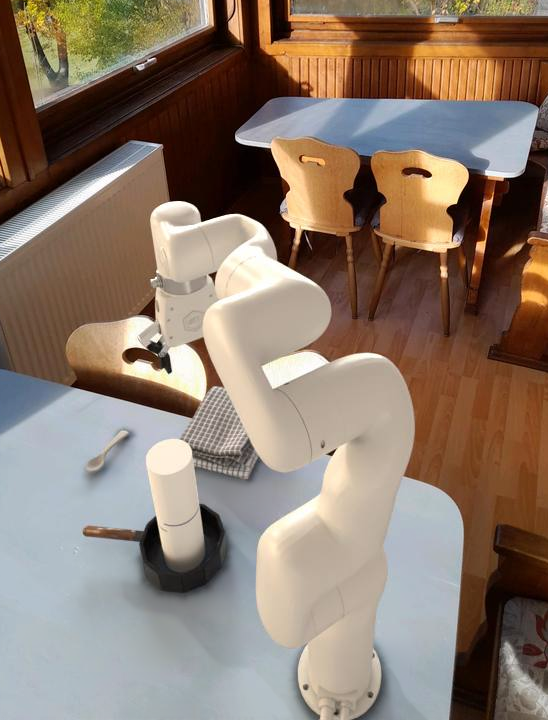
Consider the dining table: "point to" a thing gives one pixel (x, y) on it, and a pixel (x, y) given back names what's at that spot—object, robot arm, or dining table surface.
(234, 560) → the dining table surface
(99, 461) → the spoon
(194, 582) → the pan
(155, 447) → the cylindrical container
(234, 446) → the towel
